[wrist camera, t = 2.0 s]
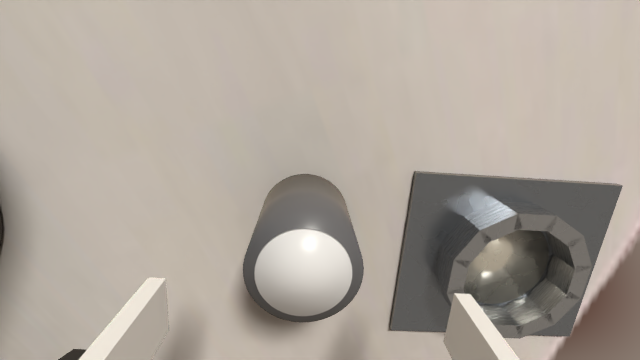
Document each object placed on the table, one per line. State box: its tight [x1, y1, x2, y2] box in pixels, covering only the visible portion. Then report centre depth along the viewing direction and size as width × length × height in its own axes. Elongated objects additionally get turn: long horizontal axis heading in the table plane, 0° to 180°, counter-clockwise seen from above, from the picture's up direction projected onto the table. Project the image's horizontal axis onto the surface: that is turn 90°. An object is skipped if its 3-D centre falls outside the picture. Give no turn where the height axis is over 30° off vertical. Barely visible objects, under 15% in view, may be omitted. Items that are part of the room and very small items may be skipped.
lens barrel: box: [243, 174, 364, 322], centre depth 21 cm, size 6×6×8 cm
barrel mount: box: [390, 171, 622, 338], centre depth 26 cm, size 16×14×3 cm
